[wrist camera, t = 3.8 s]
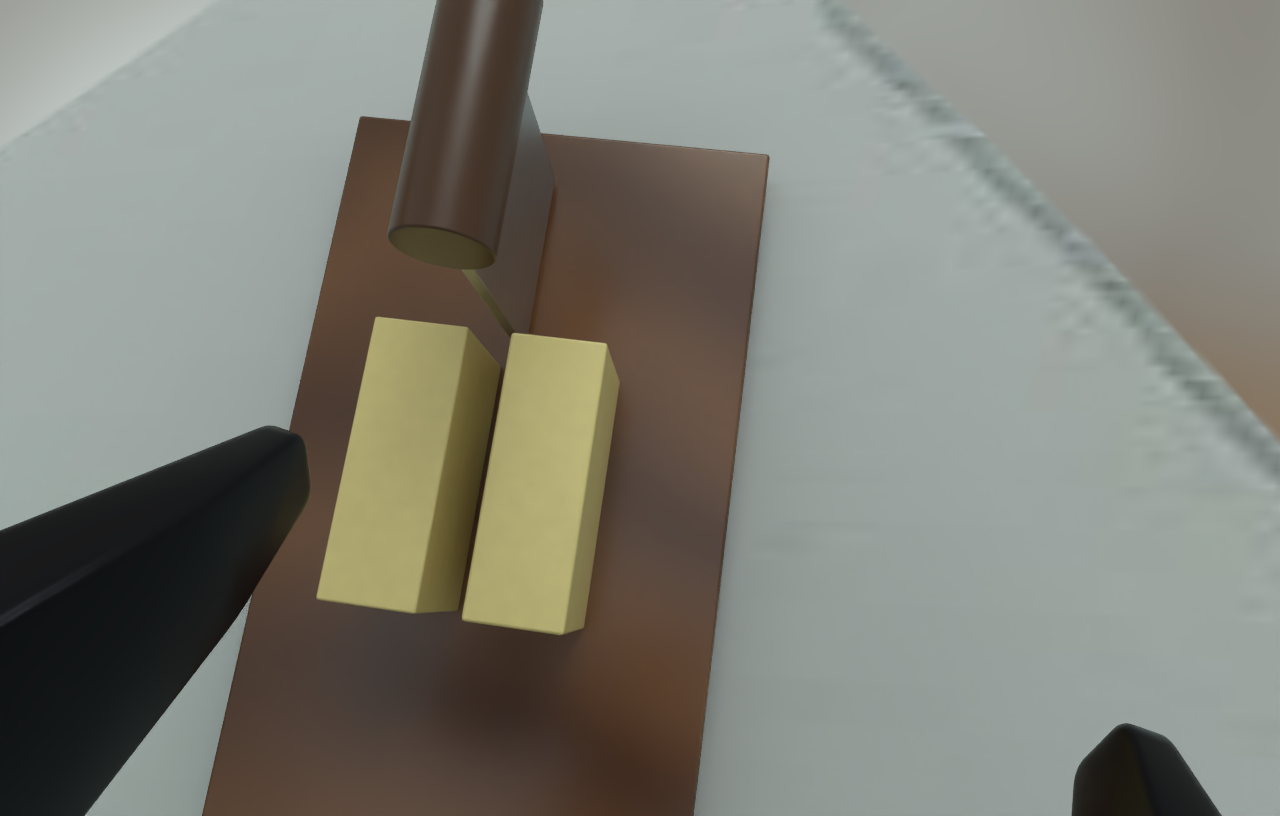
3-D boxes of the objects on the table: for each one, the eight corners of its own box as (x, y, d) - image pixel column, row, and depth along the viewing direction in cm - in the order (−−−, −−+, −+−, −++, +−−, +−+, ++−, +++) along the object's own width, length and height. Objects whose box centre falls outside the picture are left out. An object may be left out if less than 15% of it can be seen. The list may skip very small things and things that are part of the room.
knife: (556, 360, 23) (481, 232, 15) (483, 352, 23) (369, 221, 15) (586, 171, 24) (533, -43, 16) (516, 164, 24) (428, -51, 16)
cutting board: (680, 912, 21) (679, 935, 20) (225, 833, 22) (192, 849, 21) (765, 179, 25) (770, 153, 24) (377, 141, 26) (359, 114, 25)
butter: (583, 629, 21) (563, 635, 18) (373, 598, 22) (314, 599, 18) (620, 380, 23) (607, 342, 19) (421, 356, 23) (374, 315, 20)
